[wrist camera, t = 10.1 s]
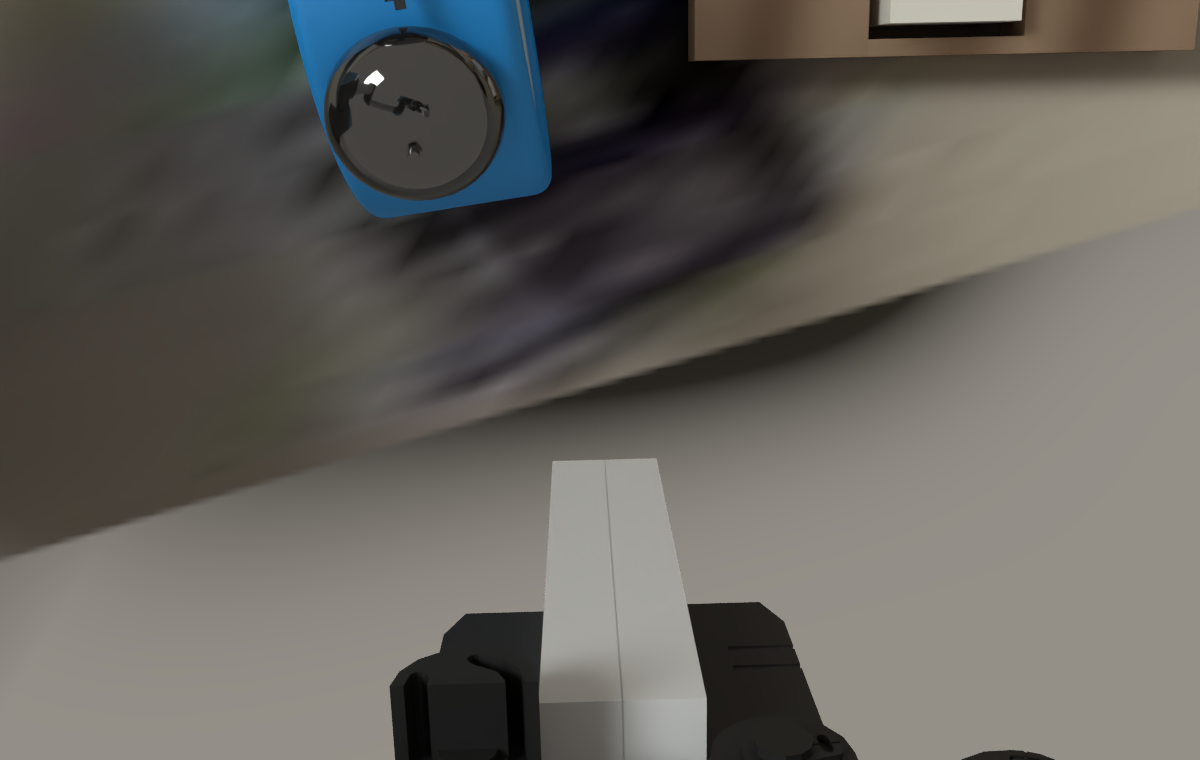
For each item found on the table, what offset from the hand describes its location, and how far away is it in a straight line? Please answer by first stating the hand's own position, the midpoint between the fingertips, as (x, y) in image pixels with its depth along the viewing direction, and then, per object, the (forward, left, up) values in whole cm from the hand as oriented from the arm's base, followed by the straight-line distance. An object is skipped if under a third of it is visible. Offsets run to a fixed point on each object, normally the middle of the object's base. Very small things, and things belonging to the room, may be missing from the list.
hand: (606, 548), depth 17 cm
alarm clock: (-5, +9, -30) cm, 31 cm away
